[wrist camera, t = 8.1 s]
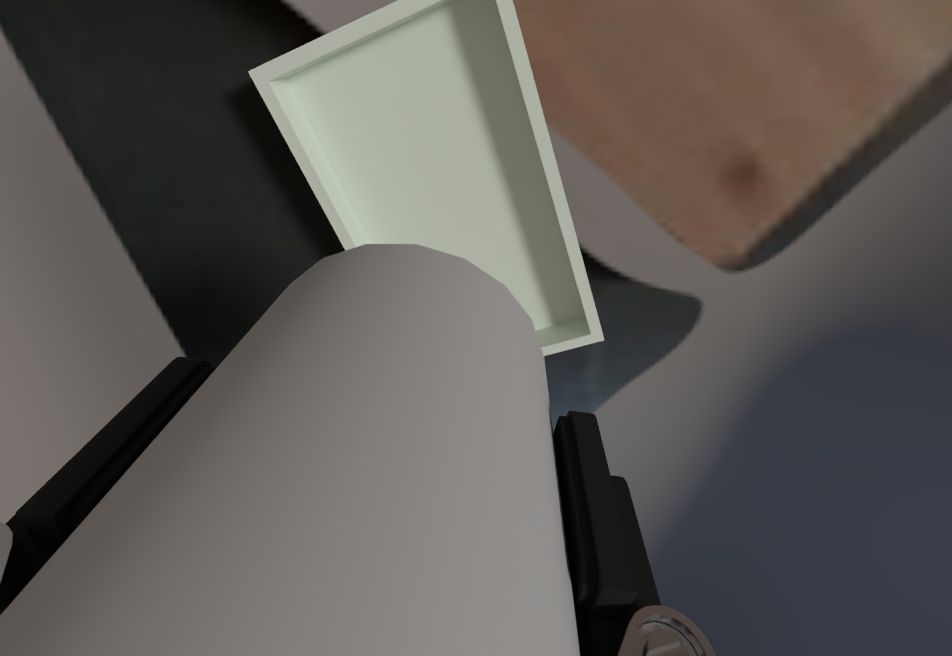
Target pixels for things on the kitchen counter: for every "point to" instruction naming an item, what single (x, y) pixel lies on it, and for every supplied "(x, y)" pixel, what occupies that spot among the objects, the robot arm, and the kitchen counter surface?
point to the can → (335, 488)
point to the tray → (438, 149)
